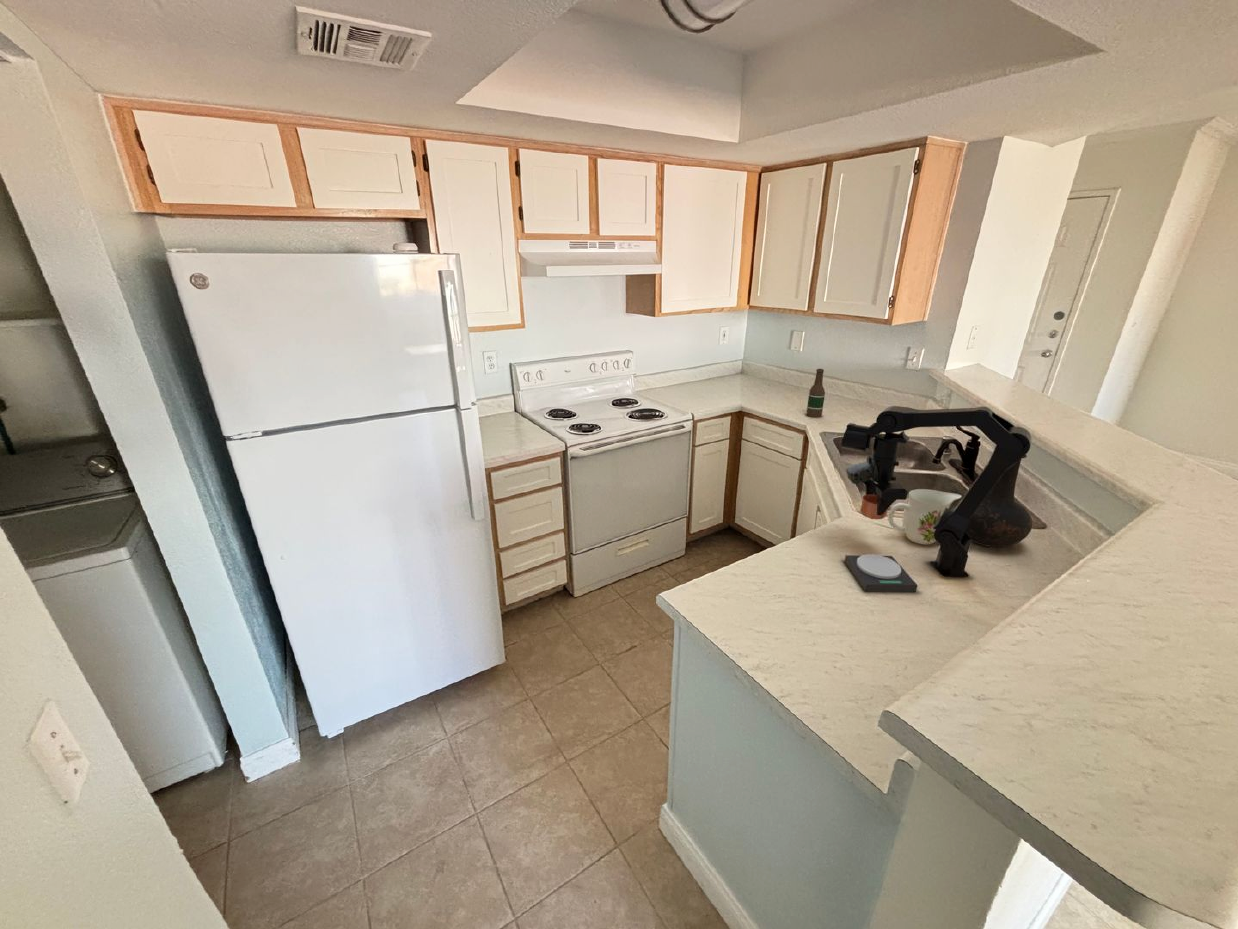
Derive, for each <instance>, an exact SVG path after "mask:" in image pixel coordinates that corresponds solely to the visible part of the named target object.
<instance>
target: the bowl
mask: <svg viewBox="0 0 1238 929" xmlns="http://www.w3.org/2000/svg"><path fill="white" fill-rule="evenodd" d="M877 500H878V498H877V496H876V495H874V494H868V495H866V494H865V495H863V496H862V499H861V503H860V504H861V506H860V509H859V510H860V511H859V512H860V514H861V515H862V516H863V517H866V518H868V519H871V520H882V519H885V518H886V517H888V510H889V508H888V509H887V510H886V511H885V512H884V513H883V514H882V515H877Z"/></svg>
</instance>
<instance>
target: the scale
mask: <svg viewBox="0 0 1238 929" xmlns="http://www.w3.org/2000/svg"><path fill="white" fill-rule="evenodd" d="M844 563H845V565H846V566H847V568H848V569H849V571H850V572H851V574H852V575H853V577H854V578H855V579H856V581H857V582H858V584H859V585H860V587H861V588H862V590H863V591H864V592H880V593H881V592H882V593H883V592H884V593H885V592H886V593H888V592H892V593H893V592H894V593H916V592H917V588H918V584H917V583H916V581H914V579H913V578H912V577H911V576H910V575H909V574H908V572H907V571H906V570H905V569H904V568H903V566H902V565H901V564H900V563H899V562H898V561H897V560H896V559H895V557H894V556H893V555H879V554H871V553H867V554H861V555H860V554H859V555H856V554H855V555H854V554H852V555H851V554H845V556H844Z"/></svg>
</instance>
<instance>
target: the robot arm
mask: <svg viewBox="0 0 1238 929" xmlns="http://www.w3.org/2000/svg"><path fill="white" fill-rule="evenodd" d="M946 427H947V428H950V427H952V428H953V427H976V428H977V429H978V430H980V432H982V434H984V435H985V437H986V438H987V439H988V440H989V441H991V442H992V444H995V446H994V448H993V451H992V453H991V455H990V458H989V460H988V461H987V463H986V464H985V465H984V466H983V468H982V470H981V471H980V473H979V474H978V475H977V477H976V478H975V480H974V481H973V483H972V484H971V485H970V487H968V490H967V491H966V492H965V493H964V495H963V497H961V499H962V500H961V499H960V500H961V501H960V500H959V501H960V502H959V501H958V502H959V504H958V505H957V506H956V507H955V506H954V507H955V508H954V507H953V508H952V509H950V508H949V509H948V508H947V507H946V508H945V510H944V512H943V514H942V516H941V517H939V518H938V519H937V521H936V523H935V525H934V527H933V529H936V530H935V532H934V538H935V540H936V541H935V542H936V543H938V544H939V548H938V552H937V556H936V558H935V560H930V561H929V564H930V565H931V566H932V568H934V569H935V570H936V571H937V572H938V574H939V575H940V576H941V577H944V578H969V577H970V574H969V573H968V572H967V571H966V570H965V569H966V566H967V563H968V559H969V553H970V552H969V551H970V548H971V545H972V542H973V541H972V538H971V537H970V536H969V535H968V534H967V532H966V531H965V530H966V528H967V526H968V523H969V521H970V518H971V517H972V516H973V514H974V513H975V512H976V510H977V509H978V507H979V506H980V505H981V503H982V502H983V501H984V499H985V498H986V497H987V495H988V494H989V493H990V491H991V490H992V489H993V487H994V486H995V485H996V483H997V482H998V481H999V479H1000V478H1001V476H1002V475H1003V474H1004V472H1005V471H1006V470H1008V469H1009V468H1010V467H1012V466H1013V465H1014V464H1016V463H1017V462H1018V461H1019V460H1020V459H1021V458H1022V457H1024V456H1025V455H1027V454H1028V453H1029V451H1030V449H1031V444H1032V435H1031V432H1029V431H1028V429H1026V428H1025V427H1022V426H1016V425H1014V424H1013V423H1011V422H1010V421H1009V420H1007V418H1004V417H1002V416H1000V414H997V413H996V412H994V411H993V410H992V409H991V408H990V407H987V406H976V407H962V408H960V407H959V408H938V409H937V408H936V409H917V408H912V407H909V406H899V405H890V406H887V407H886V408H884V409H883V410H882V411H881V412H880V413H879V414H878V415H877V416H876V420H875V422H873V423H872V424H871V425H869V426H866V425H860V424H857V423H853V422H849V423H848V424H847V425H846V428H845V430H844V434H843V436H842V437H841V448H842V449H846V450H853V451H858V452H863V453H865V452H866V451H867V450H871V448H872V452H871V455H868V456H867V457H866V461H863V462H858V463H854V464H852V465H849V466H846V467H845V470H846V474H847V479H848V480H849V481H850V482H851V484H853V485H857V484H860V483H863V486H864V493H865V495H868V494H874V495H876V496H877V498H878V500H877V515H882V514H883V513H884V512H885V511H886V510H887V509H888V510H889V508H890V507H892V506H893V504H894V503H895V502H896V501H899V500H900V501H906V500H907V497H908V495H909V492H908V490H906V488H905V487H903V486H902V485H901V484H900V483H899V482H897V483H896V482H895V481H896V480H897V477H896V475H895V474H894V473H895V467H899V466H900V461H898V460H897V457H898V454H899V447H900V443H901V444H907V443H908V442H909V440H910V437H909V436H908V435H907V433H906V431H909V430H912V429H913V430H914V429H917V428H946ZM1022 459H1023V458H1022ZM1022 459H1021V460H1022ZM892 481H893V482H892ZM894 482H895V483H894Z"/></svg>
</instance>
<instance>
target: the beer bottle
mask: <svg viewBox="0 0 1238 929" xmlns="http://www.w3.org/2000/svg"><path fill="white" fill-rule="evenodd" d="M815 371H816V373H815V378H814V382H813V385H812V386H811V387H810V389H809V392H808V398H807V399H808V400H807V405H806V416H807V417H809V418H816V419H817V418H822V415H823V409H824V403H825V394H826V391H825V388H824V385H823V380H824V372H825V370H824V368H817V369H816V370H815Z"/></svg>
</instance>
